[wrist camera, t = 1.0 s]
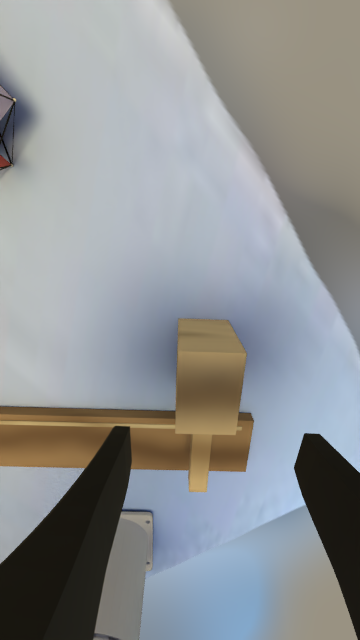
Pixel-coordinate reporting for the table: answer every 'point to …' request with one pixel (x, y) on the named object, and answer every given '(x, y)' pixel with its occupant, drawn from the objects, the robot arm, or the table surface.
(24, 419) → the brown wooden flat strip
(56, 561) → the robot arm
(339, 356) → the table surface
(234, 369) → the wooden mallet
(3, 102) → the geometric puzzle
